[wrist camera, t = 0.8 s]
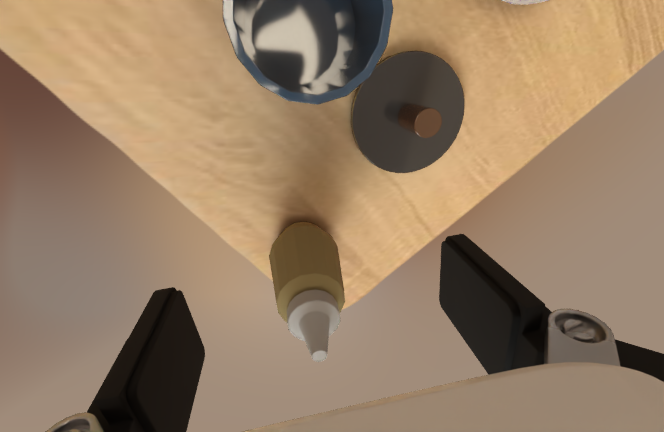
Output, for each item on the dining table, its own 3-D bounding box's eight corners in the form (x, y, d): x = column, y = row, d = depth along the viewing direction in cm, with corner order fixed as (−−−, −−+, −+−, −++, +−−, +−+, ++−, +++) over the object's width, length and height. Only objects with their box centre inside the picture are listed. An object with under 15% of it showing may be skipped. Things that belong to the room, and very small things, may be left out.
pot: (309, -81, 27) (324, -149, 19) (382, 42, 32) (421, 33, 24) (210, 14, 29) (183, -8, 21) (294, 118, 34) (300, 134, 26)
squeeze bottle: (287, 202, 38) (296, 300, 22) (344, 227, 41) (390, 332, 25) (258, 255, 40) (247, 379, 24) (314, 276, 43) (338, 400, 27)
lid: (424, 23, 32) (454, 13, 27) (476, 123, 38) (510, 132, 32) (326, 106, 34) (336, 112, 29) (389, 190, 39) (407, 209, 34)
